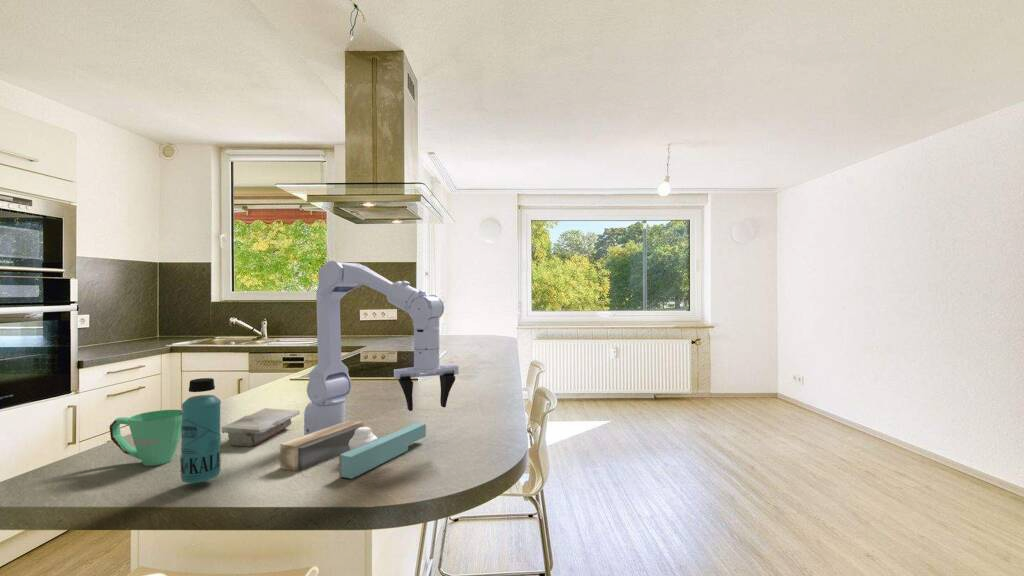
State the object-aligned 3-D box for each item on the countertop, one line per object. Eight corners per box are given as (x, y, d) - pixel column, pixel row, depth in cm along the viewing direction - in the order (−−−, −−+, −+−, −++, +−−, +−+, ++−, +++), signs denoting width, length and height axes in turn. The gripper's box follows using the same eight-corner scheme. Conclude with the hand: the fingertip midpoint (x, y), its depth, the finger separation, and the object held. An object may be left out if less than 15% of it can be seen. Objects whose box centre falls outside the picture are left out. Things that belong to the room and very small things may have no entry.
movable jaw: (339, 476, 94) (339, 454, 94) (415, 439, 117) (415, 422, 117) (351, 478, 92) (351, 456, 92) (425, 441, 115) (425, 424, 115)
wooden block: (280, 468, 99) (280, 443, 99) (349, 440, 117) (349, 420, 117) (298, 472, 97) (298, 447, 97) (366, 443, 115) (366, 422, 115)
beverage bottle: (192, 478, 94) (192, 375, 94) (228, 477, 94) (228, 375, 94) (171, 492, 87) (172, 382, 87) (210, 491, 88) (210, 381, 88)
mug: (195, 453, 108) (195, 409, 108) (165, 470, 98) (165, 421, 98) (128, 454, 107) (129, 409, 108) (91, 471, 98) (91, 421, 98)
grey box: (218, 446, 112) (259, 449, 112) (219, 426, 112) (260, 429, 112) (264, 424, 130) (300, 427, 130) (265, 406, 130) (300, 409, 130)
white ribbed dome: (349, 465, 100) (348, 431, 100) (348, 456, 106) (347, 424, 106) (380, 460, 103) (379, 427, 103) (377, 452, 108) (376, 421, 108)
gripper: (397, 352, 103) (398, 415, 103) (462, 348, 109) (462, 408, 109) (392, 348, 109) (392, 408, 109) (453, 345, 115) (453, 402, 115)
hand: (426, 408), depth 109 cm, fingers open, 7 cm apart
